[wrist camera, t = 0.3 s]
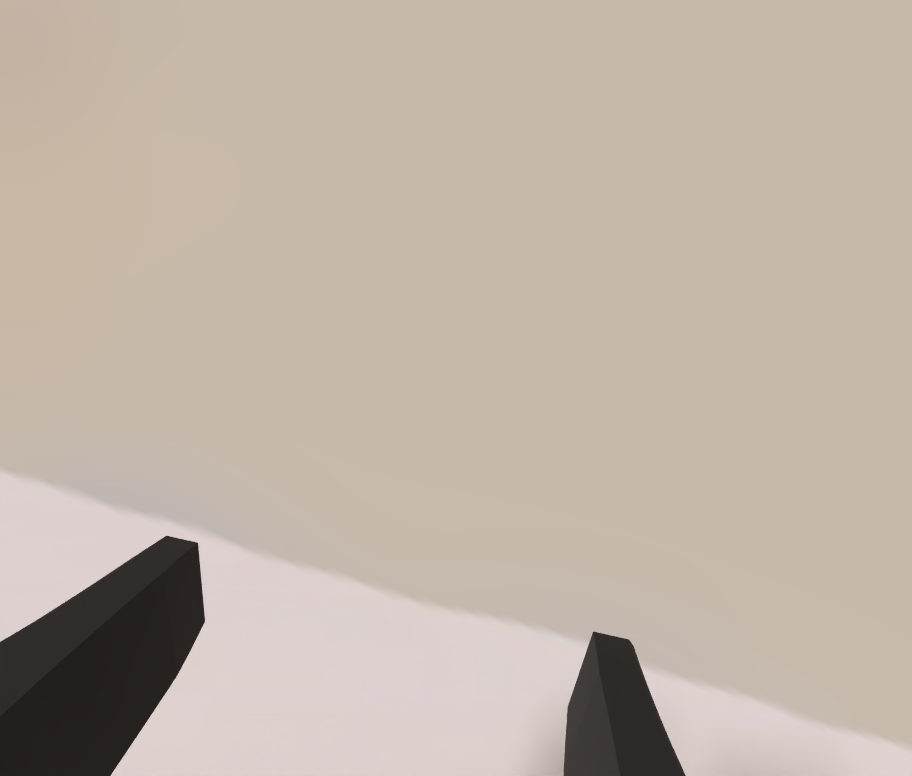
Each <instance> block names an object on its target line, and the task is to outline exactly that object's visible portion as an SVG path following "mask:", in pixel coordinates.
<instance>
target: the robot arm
mask: <svg viewBox="0 0 912 776" xmlns="http://www.w3.org/2000/svg"><path fill="white" fill-rule="evenodd" d="M204 622H205V616H204V605H203V594H202V584H201V573H200V562H199V551H198V543H196V542H192V541H187V540H183V539H178V538H174V537H170V536H165V537H164V538H162V539H161V540H159V541H158V542H156V543H155V544H153V545H151V546H150V547H148V548H147V549H145V550H144V551H142V552H141V553H139V554H138V555H136V556H135V557H133V558H132V559H130V560H129V561H127V562H126V563H124V564H123V565H121V566H120V567H118V568H117V569H115V570H114V571H112V572H111V573H109V574H108V575H106V576H105V577H103V578H102V579H100V580H99V581H97V582H96V583H94V584H93V585H91V586H89V587H88V588H86V589H85V590H83V591H82V592H80V593H79V594H77V595H76V596H74V597H72V598H71V599H69V600H68V601H66V602H65V603H63V604H62V605H60V606H58V607H57V608H55V609H54V610H52V611H51V612H49V613H47V614H46V615H44V616H43V617H41V618H40V619H38V620H36V621H35V622H33V623H31V624H30V625H28V626H26V627H25V628H23V629H21V630H20V631H18V632H16V633H15V634H13V635H11V636H10V637H8V638H6V639H5V640H3V641H1V642H0V776H110V775H111V774H112V772H113V771H114V769H115V768H116V766H117V765H118V763H119V762H120V760H121V759H122V757H123V756H124V755H125V753H126V752H127V750H128V749H129V747H130V746H131V744H132V743H133V741H134V740H135V738H136V737H137V735H138V734H139V732H140V731H141V729H142V728H143V726H144V725H145V723H146V722H147V720H148V719H149V717H150V716H151V714H152V713H153V711H154V710H155V708H156V707H157V705H158V704H159V702H160V701H161V699H162V698H163V696H164V695H165V693H166V692H167V690H168V689H169V687H170V686H171V684H172V683H173V681H174V679H175V678H176V676H177V675H178V673H179V671H180V669H181V667H182V665H183V663H184V662H185V660H186V658H187V656H188V654H189V652H190V650H191V648H192V646H193V644H194V642H195V640H196V638H197V636H198V634H199V632H200V630H201V628H202V626H203V624H204ZM564 776H685V773H684V771H683V769H682V767H681V765H680V762H679V760H678V758H677V756H676V753H675V751H674V749H673V747H672V745H671V742H670V740H669V738H668V735H667V733H666V731H665V728H664V726H663V723H662V721H661V719H660V716H659V714H658V711H657V709H656V706H655V704H654V701H653V699H652V696H651V693H650V691H649V688H648V686H647V683H646V680H645V678H644V675H643V672H642V669H641V667H640V664H639V661H638V658H637V655H636V652H635V649H634V646H633V645H632V643H631V642H630V641H629V640H628V639H624V638H619V637H615V636H610V635H606V634H601V633H597V632H593V634H592V637H591V640H590V643H589V646H588V649H587V652H586V655H585V658H584V661H583V664H582V666H581V669H580V672H579V675H578V678H577V681H576V684H575V687H574V690H573V693H572V696H571V699H570V702H569V705H568V712H567V726H566V741H565V758H564Z"/></svg>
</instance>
